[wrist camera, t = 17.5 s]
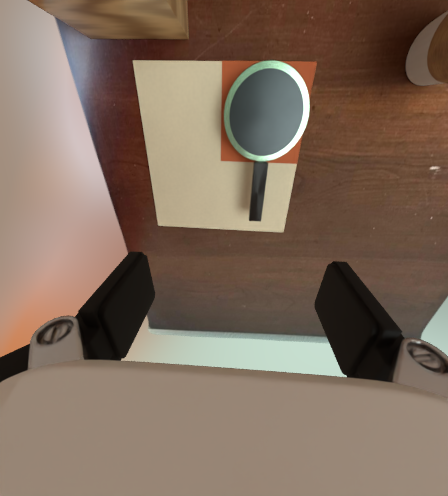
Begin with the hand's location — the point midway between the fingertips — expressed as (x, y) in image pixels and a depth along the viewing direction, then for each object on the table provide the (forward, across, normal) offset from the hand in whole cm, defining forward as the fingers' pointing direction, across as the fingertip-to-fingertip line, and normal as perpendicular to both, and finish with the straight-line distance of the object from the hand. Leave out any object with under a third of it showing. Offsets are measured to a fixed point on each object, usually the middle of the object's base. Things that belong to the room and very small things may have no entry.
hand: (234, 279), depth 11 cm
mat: (+24, +3, -3) cm, 24 cm away
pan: (+23, -3, -4) cm, 24 cm away
